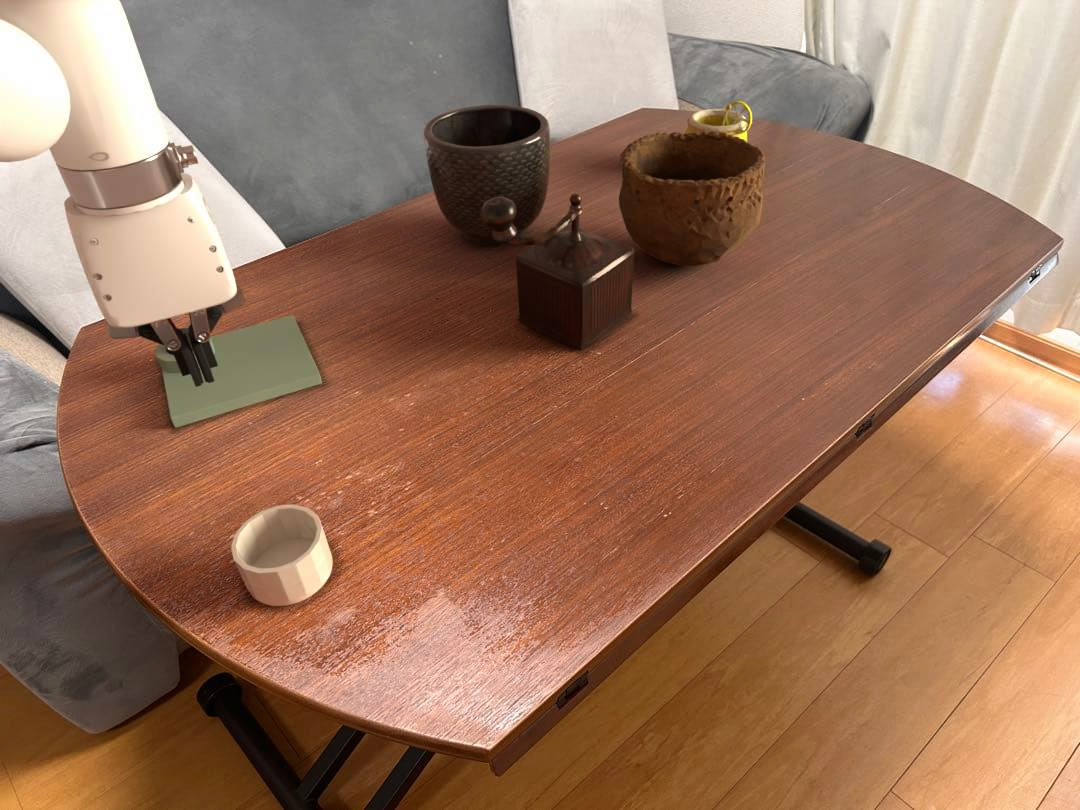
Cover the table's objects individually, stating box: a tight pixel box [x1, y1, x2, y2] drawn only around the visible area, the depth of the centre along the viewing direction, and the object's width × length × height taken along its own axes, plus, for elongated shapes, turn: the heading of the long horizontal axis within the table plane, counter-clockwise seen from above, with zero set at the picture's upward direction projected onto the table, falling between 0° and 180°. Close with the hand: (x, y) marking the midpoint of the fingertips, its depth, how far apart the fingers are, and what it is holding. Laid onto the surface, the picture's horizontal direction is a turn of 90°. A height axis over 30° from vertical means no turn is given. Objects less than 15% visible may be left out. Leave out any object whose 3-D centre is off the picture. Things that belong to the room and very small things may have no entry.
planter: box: [423, 104, 551, 247], centre depth 108 cm, size 17×17×16 cm
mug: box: [684, 100, 753, 142], centre depth 125 cm, size 13×11×12 cm
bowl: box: [618, 131, 766, 267], centre depth 101 cm, size 19×19×15 cm
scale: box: [154, 314, 323, 429], centre depth 87 cm, size 16×14×3 cm
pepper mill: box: [480, 192, 635, 351], centre depth 88 cm, size 16×11×18 cm
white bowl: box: [230, 503, 334, 607], centre depth 64 cm, size 7×7×4 cm
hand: (202, 375), depth 67 cm, fingers closed
